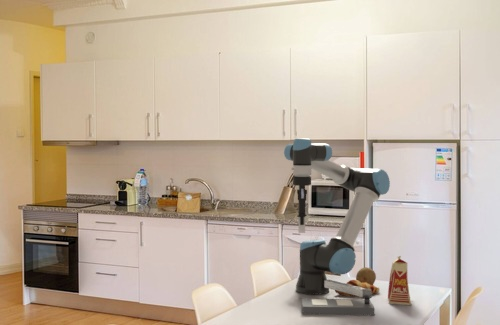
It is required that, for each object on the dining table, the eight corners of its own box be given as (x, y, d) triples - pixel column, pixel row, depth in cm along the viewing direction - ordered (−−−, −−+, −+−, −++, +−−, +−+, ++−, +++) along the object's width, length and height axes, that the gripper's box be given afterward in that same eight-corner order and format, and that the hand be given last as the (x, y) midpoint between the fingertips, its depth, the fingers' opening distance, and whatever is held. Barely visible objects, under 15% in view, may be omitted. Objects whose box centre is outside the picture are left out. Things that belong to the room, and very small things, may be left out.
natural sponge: (364, 292, 255) (364, 270, 255) (351, 287, 263) (352, 266, 263) (379, 289, 260) (379, 268, 260) (366, 285, 268) (367, 264, 267)
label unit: (301, 305, 233) (301, 293, 233) (369, 306, 232) (369, 294, 232) (302, 314, 221) (302, 301, 221) (374, 315, 220) (374, 302, 220)
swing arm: (329, 286, 244) (329, 279, 244) (373, 297, 225) (373, 290, 225) (323, 287, 241) (323, 280, 241) (367, 299, 223) (367, 291, 223)
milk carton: (411, 305, 235) (411, 257, 234) (388, 303, 236) (388, 256, 236) (409, 299, 244) (410, 253, 243) (387, 298, 245) (388, 252, 245)
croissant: (376, 299, 257) (372, 281, 260) (385, 293, 248) (381, 276, 252) (332, 301, 252) (329, 283, 255) (340, 295, 243) (337, 277, 247)
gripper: (292, 175, 239) (292, 230, 240) (293, 176, 226) (293, 234, 227) (310, 175, 239) (310, 230, 240) (312, 176, 226) (311, 234, 227)
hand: (301, 232), depth 233 cm, fingers closed
